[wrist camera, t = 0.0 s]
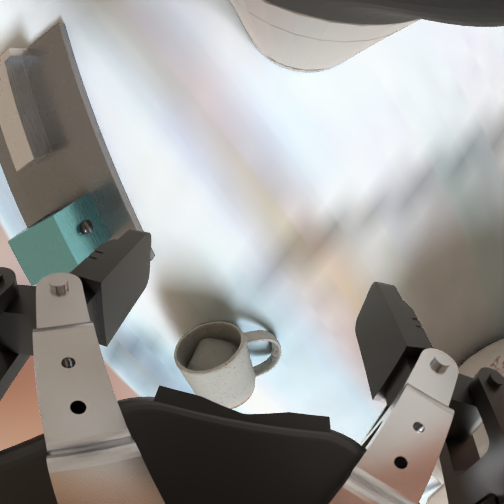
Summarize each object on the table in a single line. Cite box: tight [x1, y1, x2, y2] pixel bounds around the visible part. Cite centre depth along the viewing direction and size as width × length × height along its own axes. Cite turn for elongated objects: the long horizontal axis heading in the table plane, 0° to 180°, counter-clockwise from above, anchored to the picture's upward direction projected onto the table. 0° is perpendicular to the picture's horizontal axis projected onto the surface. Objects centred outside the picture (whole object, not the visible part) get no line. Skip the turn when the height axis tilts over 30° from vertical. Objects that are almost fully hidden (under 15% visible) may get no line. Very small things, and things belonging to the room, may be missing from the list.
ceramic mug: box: [174, 321, 281, 409], centre depth 32 cm, size 10×8×7 cm
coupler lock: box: [8, 193, 111, 285], centre depth 27 cm, size 5×8×6 cm, turn 109°
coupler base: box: [0, 23, 155, 273], centre depth 26 cm, size 26×14×4 cm, turn 19°
